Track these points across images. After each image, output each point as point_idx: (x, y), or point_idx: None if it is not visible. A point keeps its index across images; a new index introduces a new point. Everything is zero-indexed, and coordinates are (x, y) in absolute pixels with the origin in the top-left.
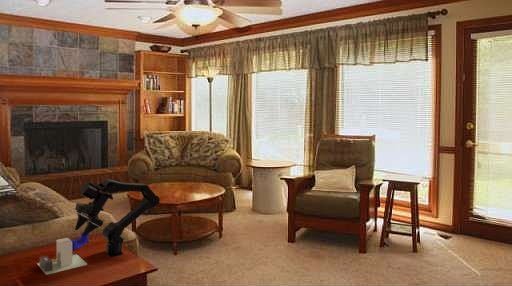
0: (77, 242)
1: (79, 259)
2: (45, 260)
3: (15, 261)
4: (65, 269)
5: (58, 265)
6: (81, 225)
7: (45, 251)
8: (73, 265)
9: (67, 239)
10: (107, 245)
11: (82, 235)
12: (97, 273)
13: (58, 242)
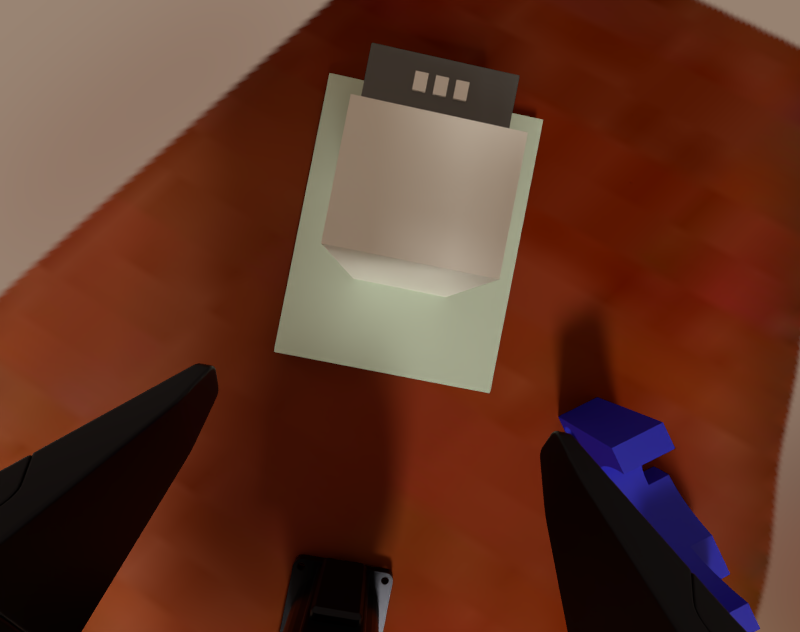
0: (674, 509)
1: (391, 356)
2: (422, 73)
3: (694, 67)
4: (311, 201)
5: None
6: (566, 587)
7: (713, 282)
8: (330, 273)
9: (436, 240)
10: (343, 619)
11: (200, 364)
12: (134, 335)
13: (443, 119)
